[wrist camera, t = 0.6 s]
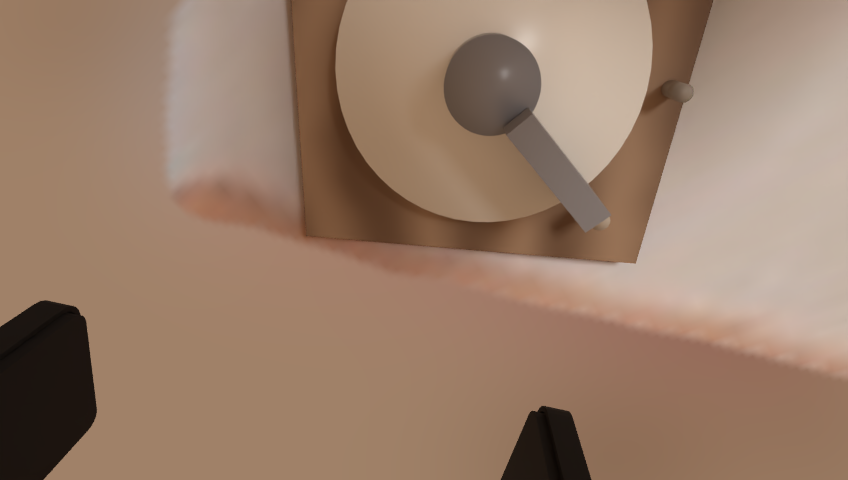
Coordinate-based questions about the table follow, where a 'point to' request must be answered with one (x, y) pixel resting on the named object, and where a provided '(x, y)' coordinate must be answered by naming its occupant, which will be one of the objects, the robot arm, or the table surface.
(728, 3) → the table surface
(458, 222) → the dial board
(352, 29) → the dial
